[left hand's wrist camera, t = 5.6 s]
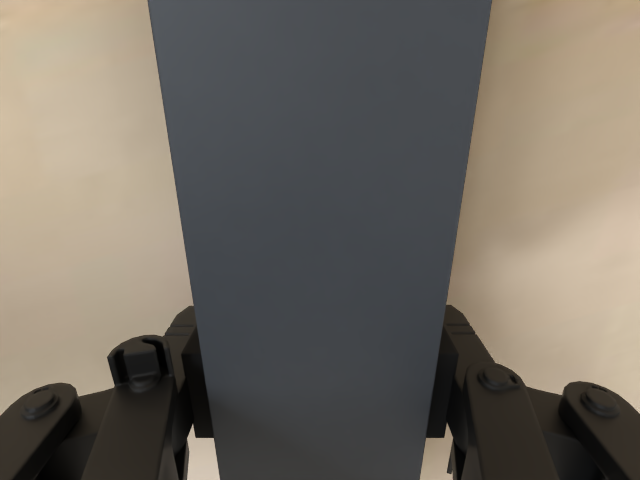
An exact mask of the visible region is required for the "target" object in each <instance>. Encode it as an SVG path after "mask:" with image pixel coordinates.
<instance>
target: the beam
mask: <svg viewBox="0 0 640 480" xmlns="http://www.w3.org/2000/svg"><path fill="white" fill-rule="evenodd" d="M491 3H492V0H148V7H149V13H150V20H151V26H152V33H153V40H154V46H155V53H156V59H157V66H158V73H159V79H160V86H161V92H162V99H163V106H164V112H165V119H166V125H167V132H168V139H169V145H170V152H171V158H172V165H173V172H174V178H175V185H176V191H177V198H178V205H179V211H180V218H181V224H182V231H183V237H184V244H185V251H186V257H187V264H188V270H189V277H190V284H191V290H192V297H193V303H194V310H195V317H196V323H197V330H198V336H199V343H200V350H201V356H202V363H203V369H204V376H205V383H206V389H207V396H208V402H209V409H210V416H211V422H212V429H213V435H214V442H215V449H216V455H217V462H218V468H219V475H220V480H420V473H421V467H422V460H423V453H424V447H425V440H426V434H427V427H428V420H429V414H430V407H431V400H432V394H433V387H434V381H435V374H436V367H437V361H438V354H439V348H440V341H441V334H442V328H443V321H444V314H445V308H446V301H447V295H448V288H449V281H450V275H451V268H452V261H453V255H454V248H455V242H456V235H457V228H458V222H459V215H460V209H461V202H462V195H463V189H464V182H465V175H466V169H467V162H468V156H469V149H470V142H471V136H472V129H473V122H474V116H475V109H476V103H477V96H478V89H479V83H480V76H481V70H482V63H483V56H484V50H485V43H486V36H487V30H488V23H489V17H490V10H491Z"/></svg>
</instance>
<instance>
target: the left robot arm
mask: <svg viewBox="0 0 640 480" xmlns="http://www.w3.org/2000/svg"><path fill="white" fill-rule="evenodd" d="M107 359H108V362H109V366H110V370H111V373H112V377H113V381H114V384H115V387H114V388H112V389H108V390H105V391H101V392H97V393H92V394H88V395H84V396H79V397H78V395H77V391H76V389H75V388H74V387H73V386H72V385H71V384H66V383H55V384H48V385H46V386H43V387H40V388H37V389H34V390H33V391H31V392H29V393H27V394H25V395H23V396H22V397H20V398H19V399H18V400H17V401H16V402H14V403H13V404H12V405H11V406H10V407H9V408H8V409H7V410H6V411H5V412H4V413H3V414H2V415H1V416H0V480H187V473H188V461H189V448H188V442H187V437H188V435H189V432H190V429H191V427H192V424H193V425H194V431H195V437H196V438H214V435H213V429H212V422H211V416H210V409H209V402H208V396H207V389H206V383H205V376H204V369H203V363H202V356H201V350H200V343H199V336H198V330H197V323H196V317H195V310H194V306H189V307H187V308H186V309H184V310H183V311H182V312H180V313H179V314H178V315H177V316H176V317H175V319H174V320H173V322H172V323H171V325H170V327H169V328H168V330H167V331H166V333H165V336H163V337H161V336H157V335H143V336H139V337H135V338H132V339H130V340H127V341H125V342H123V343H121V344H120V345H118V346H117V347H116V348H114V349H113V350H112V351H111V353H110V354H109V355H108V357H107ZM447 423H448V426H449V428H450V431H451V433H452V436H453V442H452V447H451V452H450V458H449V463H448V469H447V473H449V474H451V473H452V472H453V480H640V414H639V413H638V412H637V411H636V410H635V409H634V408H633V407H632V406H631V405H630V404H629V403H628V402H627V401H626V400H624V399H623V398H622V397H621V396H619V395H618V394H616V393H614V392H612V391H611V390H609V389H607V388H605V387H602V386H599V385H596V384H593V383H588V382H581V381H578V382H571V383H569V384H568V385H567V386H565V388H564V391H563V394H562V395H558V394H554V393H550V392H545V391H541V390H536V389H533V388H530V387H526V386H525V384H524V382H523V381H522V379H521V378H520V377H519V376H518V375H517V374H516V373H515V372H513V371H512V370H510V369H508V368H507V367H505V366H503V365H500V364H497V363H495V362H494V360H493V359H492V357H491V356H490V354H489V353H488V351H487V350H486V348H485V347H484V345H483V343H482V342H481V340H480V339H479V337H478V336H477V335H475V331H474V330H473V328H472V327H471V326H470V324H469V322H468V321H467V319H466V318H465V316H464V315H463V313H461V312H460V311H458V310H457V309H456V308H454V307H453V306H452V305H446V308H445V314H444V321H443V328H442V334H441V341H440V348H439V354H438V361H437V367H436V374H435V381H434V387H433V394H432V400H431V407H430V414H429V420H428V427H427V434H426V438H444V436H445V430H446V424H447Z"/></svg>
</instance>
